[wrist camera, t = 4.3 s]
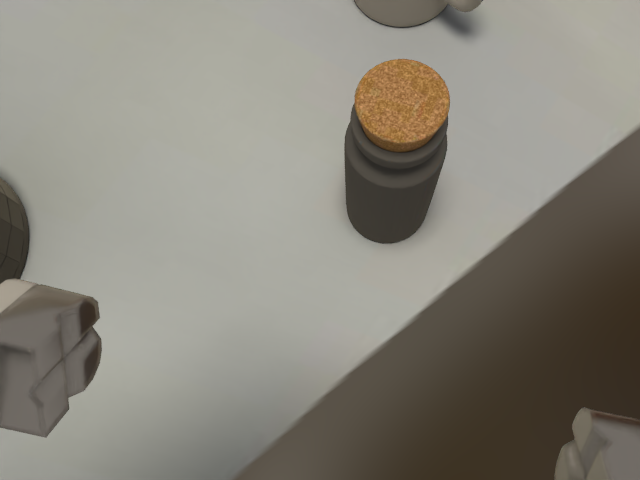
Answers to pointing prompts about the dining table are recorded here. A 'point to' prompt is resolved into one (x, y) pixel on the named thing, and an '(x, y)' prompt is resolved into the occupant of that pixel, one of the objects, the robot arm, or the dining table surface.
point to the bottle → (395, 148)
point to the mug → (410, 10)
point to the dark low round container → (12, 234)
